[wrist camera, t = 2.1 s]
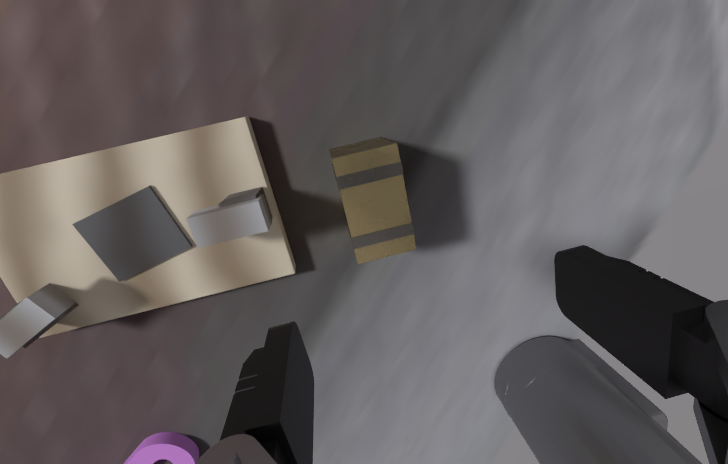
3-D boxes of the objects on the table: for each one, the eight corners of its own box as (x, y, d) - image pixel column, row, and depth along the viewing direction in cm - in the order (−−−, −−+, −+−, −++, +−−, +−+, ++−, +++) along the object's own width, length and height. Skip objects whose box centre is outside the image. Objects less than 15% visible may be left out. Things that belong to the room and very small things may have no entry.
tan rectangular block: (328, 149, 26) (330, 159, 21) (381, 136, 27) (398, 142, 21) (349, 234, 29) (357, 264, 23) (398, 222, 29) (417, 249, 23)
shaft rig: (248, 116, 25) (230, 117, 20) (295, 265, 29) (290, 298, 24) (-36, 183, 24) (-133, 201, 19) (53, 326, 28) (-7, 374, 23)
